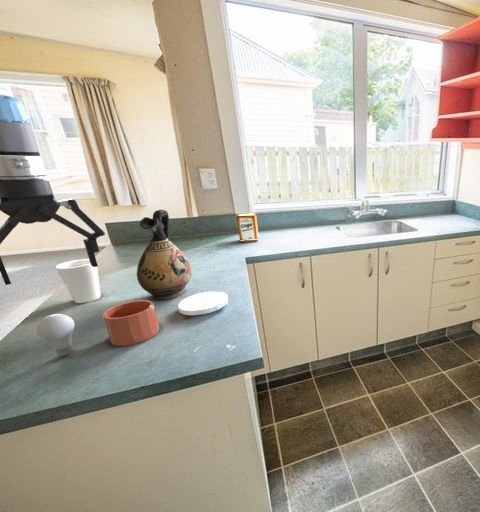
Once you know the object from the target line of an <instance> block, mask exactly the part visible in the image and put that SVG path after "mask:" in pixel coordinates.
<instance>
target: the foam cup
mask: <svg viewBox="0 0 480 512" xmlns="http://www.w3.org/2000/svg"><path fill="white" fill-rule="evenodd" d="M55 271H56V273H57V275H59V277H60V279H61V281H62V282H63V284H64V285H65V287H66V289H67V291H68V293H69V295H70V296H71V298H72V300H73V301H74V303H76V304H85V303H90V302H93V301H96V300H98V299H100V298H101V289H100V282H99V281H100V279H99V272H98V267H93V266H92V265H91V263H90V260H89V258H83V259H76V260H69V261H66V262H61V263H58V264H57V265H56V266H55Z"/></svg>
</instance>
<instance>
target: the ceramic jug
mask: <svg viewBox="0 0 480 512" xmlns="http://www.w3.org/2000/svg"><path fill="white" fill-rule="evenodd" d="M139 225H140V227H141V228H142V230H145V231H150V232H152V236H151V238H150V241H149V242H148V244H147V246H146V247H145V249H144V250H143V252H142V254H141V256H140V258H139V260H138V263H137V266H136V267H137V268H136V279H137V282H138V284H139V286H140V287H141V288H142V289H143V290H144V291H146V292H147V293H148V294H150V295H151V299H153V300H159V301H163V300H168V299H173V298H176V297H179V296H180V295H182V294H183V293H184V290H185V288H186V286H187V285H188V284H189V282H190V281H191V278H192V275H193V273H192V272H193V271H192V267H191V264H190V262H189V260H188V257H186V255H185V254H184V253H183V252H182V251H181V250H180V249H179V248H178V247H177V245H175V243H173V242H172V241H171V240H170V237H169V235H170V234H169V229H170V217H169V213H168V211H167V210H165V209H158V210H155V211H153V214H152V218H151V217H147V216H145V217H143V218H142V219H141V220H140V222H139Z"/></svg>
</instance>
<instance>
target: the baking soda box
mask: <svg viewBox="0 0 480 512" xmlns="http://www.w3.org/2000/svg"><path fill="white" fill-rule="evenodd" d="M236 221H237V229H238V236H239V243H254V242H257V243H258V242H259V240H260V235H259V226H258V218H257V213H238V214H237V215H236ZM258 236H259V238H258ZM257 238H258V240H246V239H257ZM240 240H244V241H240Z"/></svg>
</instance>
